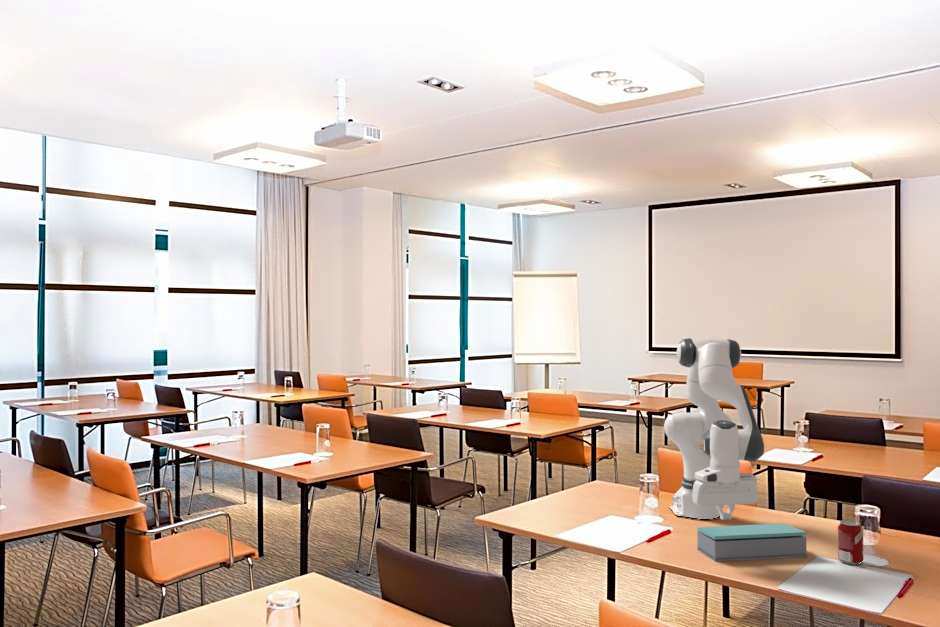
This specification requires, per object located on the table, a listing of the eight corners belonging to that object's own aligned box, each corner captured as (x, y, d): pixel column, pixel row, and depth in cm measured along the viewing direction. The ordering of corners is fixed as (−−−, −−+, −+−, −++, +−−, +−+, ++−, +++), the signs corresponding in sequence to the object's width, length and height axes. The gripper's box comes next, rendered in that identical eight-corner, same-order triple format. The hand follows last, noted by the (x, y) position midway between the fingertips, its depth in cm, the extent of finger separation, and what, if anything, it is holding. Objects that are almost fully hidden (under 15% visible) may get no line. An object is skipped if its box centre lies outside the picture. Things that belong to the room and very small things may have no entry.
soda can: (850, 566, 218) (849, 526, 218) (833, 560, 224) (832, 520, 224) (868, 564, 219) (868, 524, 220) (851, 558, 226) (850, 518, 226)
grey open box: (697, 549, 235) (697, 531, 235) (784, 545, 239) (784, 527, 239) (715, 561, 223) (714, 541, 223) (806, 556, 227) (806, 537, 228)
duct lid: (697, 530, 235) (697, 527, 235) (784, 526, 239) (784, 523, 239) (714, 539, 223) (714, 536, 223) (806, 535, 228) (806, 532, 228)
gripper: (751, 471, 232) (751, 515, 232) (689, 473, 229) (690, 517, 229) (761, 474, 226) (762, 520, 225) (698, 477, 223) (699, 522, 222)
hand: (725, 519), depth 227 cm, fingers closed
